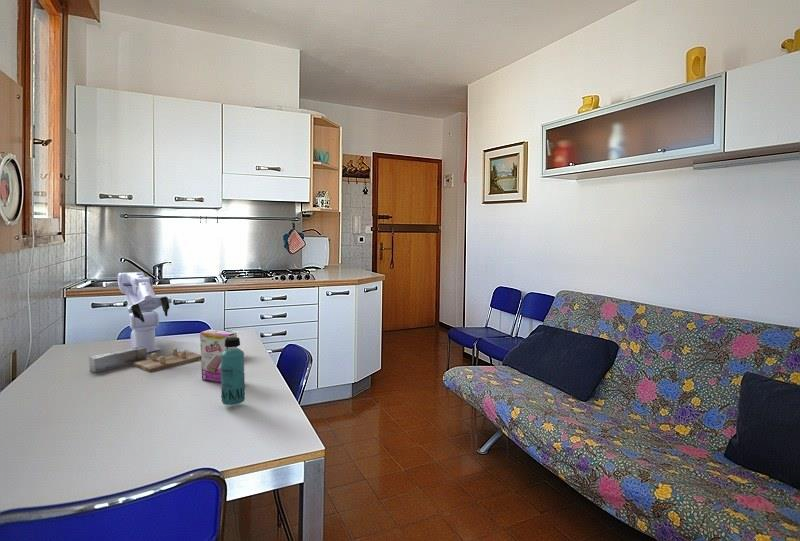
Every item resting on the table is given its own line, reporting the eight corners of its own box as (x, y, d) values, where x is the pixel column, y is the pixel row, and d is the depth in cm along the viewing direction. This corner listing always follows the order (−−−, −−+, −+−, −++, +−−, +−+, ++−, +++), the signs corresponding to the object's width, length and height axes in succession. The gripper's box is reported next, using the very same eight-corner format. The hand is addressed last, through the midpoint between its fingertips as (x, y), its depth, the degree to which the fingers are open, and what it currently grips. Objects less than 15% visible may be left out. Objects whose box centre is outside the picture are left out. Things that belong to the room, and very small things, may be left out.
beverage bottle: (225, 401, 136) (223, 335, 134) (248, 401, 137) (246, 335, 135) (218, 410, 130) (216, 341, 128) (242, 410, 130) (241, 340, 128)
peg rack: (133, 365, 168) (132, 355, 168) (186, 353, 184) (185, 344, 184) (149, 372, 161) (149, 362, 161) (203, 358, 177) (202, 349, 177)
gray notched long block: (95, 373, 160) (94, 358, 159) (89, 370, 162) (88, 356, 162) (147, 361, 174) (146, 348, 173) (141, 358, 176) (140, 346, 176)
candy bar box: (200, 380, 154) (199, 332, 152) (211, 376, 158) (210, 328, 157) (228, 385, 150) (227, 335, 148) (238, 380, 155) (237, 331, 153)
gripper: (123, 293, 172) (130, 314, 163) (165, 283, 180) (174, 302, 171) (127, 308, 176) (134, 329, 167) (168, 298, 183) (177, 317, 174)
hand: (154, 316), depth 169 cm, fingers open, 7 cm apart
